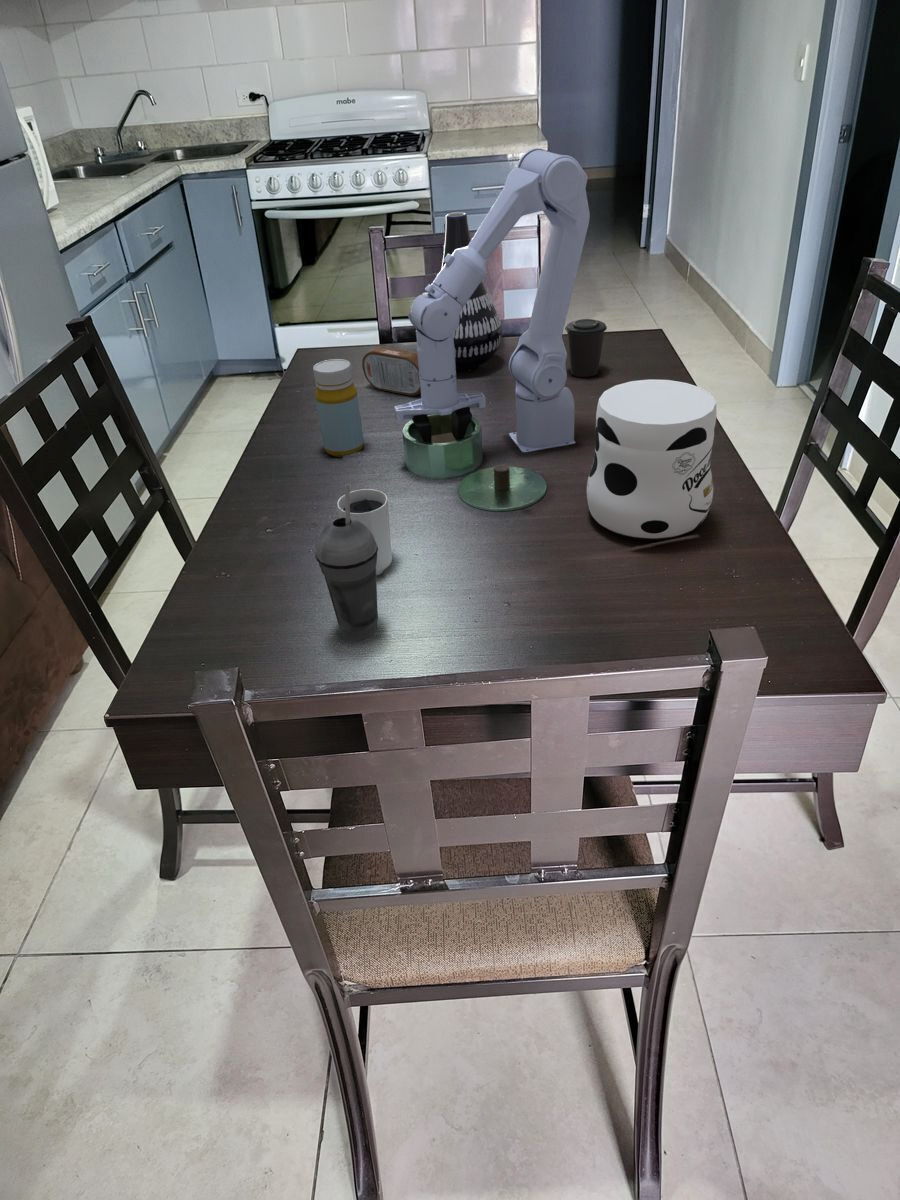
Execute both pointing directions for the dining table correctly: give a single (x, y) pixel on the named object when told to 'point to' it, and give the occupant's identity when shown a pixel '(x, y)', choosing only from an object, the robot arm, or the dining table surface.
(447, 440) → the block
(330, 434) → the bottle
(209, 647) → the dining table surface
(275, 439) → the dining table surface
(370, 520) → the white cylindrical cup
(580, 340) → the coffee cup
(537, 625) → the dining table surface
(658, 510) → the milk container
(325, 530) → the beverage cup
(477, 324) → the vase
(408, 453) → the jar
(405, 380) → the tin
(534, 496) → the lid
